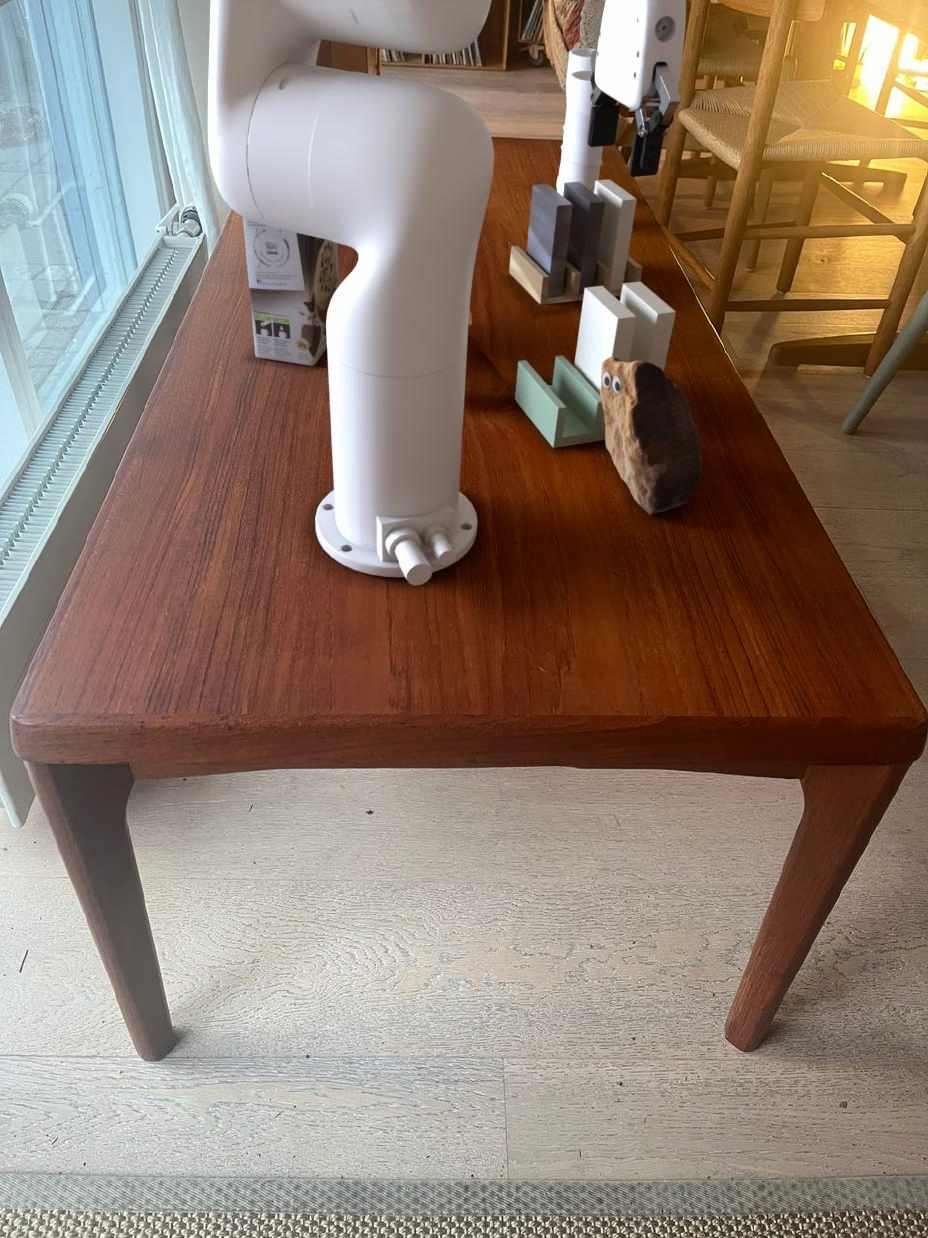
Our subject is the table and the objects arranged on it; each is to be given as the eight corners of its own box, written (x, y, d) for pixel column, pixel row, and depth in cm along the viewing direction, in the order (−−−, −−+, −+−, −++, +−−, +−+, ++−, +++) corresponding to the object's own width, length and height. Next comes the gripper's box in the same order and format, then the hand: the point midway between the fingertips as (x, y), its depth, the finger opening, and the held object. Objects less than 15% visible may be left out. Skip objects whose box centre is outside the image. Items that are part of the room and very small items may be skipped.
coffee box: (316, 367, 96) (306, 197, 85) (253, 358, 96) (236, 189, 86) (343, 327, 102) (337, 166, 92) (284, 319, 103) (272, 158, 92)
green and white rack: (628, 383, 96) (647, 274, 89) (673, 428, 90) (697, 316, 83) (514, 399, 93) (525, 287, 86) (553, 448, 87) (568, 332, 79)
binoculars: (595, 240, 124) (617, 83, 112) (553, 237, 124) (570, 80, 112) (591, 194, 137) (611, 49, 125) (553, 191, 137) (568, 46, 125)
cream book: (597, 267, 115) (609, 178, 109) (622, 289, 111) (637, 198, 104) (583, 268, 115) (595, 179, 108) (608, 291, 110) (622, 200, 104)
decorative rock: (582, 447, 87) (599, 333, 80) (643, 439, 89) (665, 327, 82) (639, 524, 79) (663, 406, 72) (705, 514, 80) (736, 397, 73)
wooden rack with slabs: (601, 270, 117) (615, 174, 110) (637, 301, 111) (654, 201, 104) (508, 280, 114) (516, 181, 106) (539, 312, 108) (549, 210, 100)
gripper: (730, -12, 88) (692, 184, 100) (640, -47, 100) (615, 132, 111) (657, -11, 86) (626, 190, 97) (574, -46, 98) (555, 137, 109)
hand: (621, 159), depth 104 cm, fingers open, 9 cm apart
